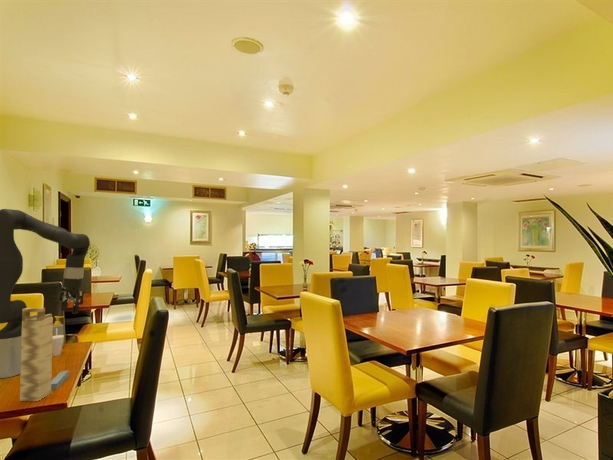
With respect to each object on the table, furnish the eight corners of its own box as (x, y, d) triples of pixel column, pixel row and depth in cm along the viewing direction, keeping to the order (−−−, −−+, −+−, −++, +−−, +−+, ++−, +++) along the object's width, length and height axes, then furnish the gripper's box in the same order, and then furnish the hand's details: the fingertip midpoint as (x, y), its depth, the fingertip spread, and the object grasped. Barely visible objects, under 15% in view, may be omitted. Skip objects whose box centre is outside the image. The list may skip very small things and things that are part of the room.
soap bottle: (58, 350, 187) (59, 317, 188) (45, 350, 187) (46, 317, 187) (67, 346, 194) (68, 315, 194) (55, 346, 194) (55, 315, 194)
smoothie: (61, 352, 184) (62, 326, 184) (65, 354, 180) (66, 328, 180) (47, 355, 179) (48, 328, 180) (50, 357, 175) (51, 330, 175)
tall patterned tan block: (19, 401, 128) (22, 309, 129) (32, 393, 134) (35, 305, 135) (38, 401, 128) (41, 309, 129) (51, 393, 135) (53, 305, 136)
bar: (47, 391, 137) (47, 384, 137) (60, 378, 151) (61, 371, 151) (56, 390, 138) (56, 383, 138) (68, 377, 152) (68, 370, 152)
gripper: (55, 275, 155) (51, 310, 154) (74, 279, 149) (69, 316, 148) (72, 274, 162) (69, 308, 161) (91, 278, 156) (87, 313, 155)
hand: (69, 312), depth 155 cm, fingers open, 8 cm apart
